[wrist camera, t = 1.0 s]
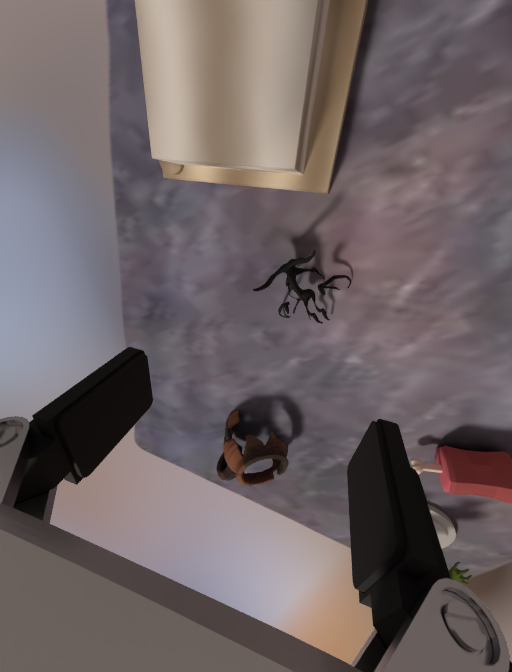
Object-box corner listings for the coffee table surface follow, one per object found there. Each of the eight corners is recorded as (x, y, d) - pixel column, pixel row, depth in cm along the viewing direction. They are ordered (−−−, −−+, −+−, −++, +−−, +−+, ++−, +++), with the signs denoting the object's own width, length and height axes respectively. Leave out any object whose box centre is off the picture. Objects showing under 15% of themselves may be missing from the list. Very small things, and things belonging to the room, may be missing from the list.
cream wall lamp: (376, -38, 15) (400, -198, 9) (329, 193, 21) (324, 191, 15) (170, -18, 18) (85, -127, 12) (182, 179, 24) (130, 173, 18)
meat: (548, 447, 24) (581, 504, 21) (526, 465, 28) (552, 517, 24) (409, 435, 29) (419, 481, 25) (404, 452, 32) (412, 495, 28)
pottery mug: (243, 393, 35) (257, 445, 28) (288, 411, 40) (309, 459, 33) (198, 442, 39) (200, 498, 32) (244, 453, 44) (254, 503, 37)
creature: (361, 295, 25) (322, 227, 21) (371, 327, 20) (326, 249, 17) (294, 327, 28) (252, 273, 25) (292, 359, 24) (242, 300, 21)
